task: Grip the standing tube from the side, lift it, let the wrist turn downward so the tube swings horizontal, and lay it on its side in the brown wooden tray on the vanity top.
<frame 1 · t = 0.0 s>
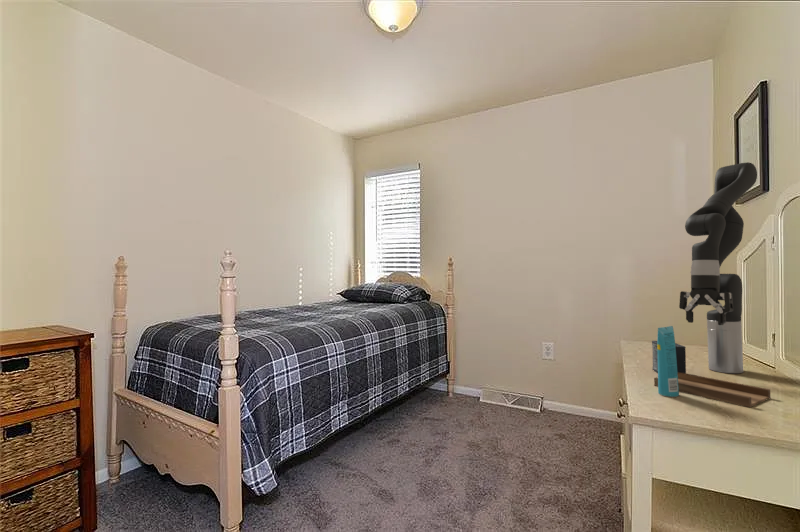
hand: (705, 323, 130), 17 cm above the table, tool pointing down, fingers open, 8 cm apart
tube: (667, 395, 112), on the table
small box: (669, 374, 133), on the table
brown wooden tray: (709, 391, 114), on the table
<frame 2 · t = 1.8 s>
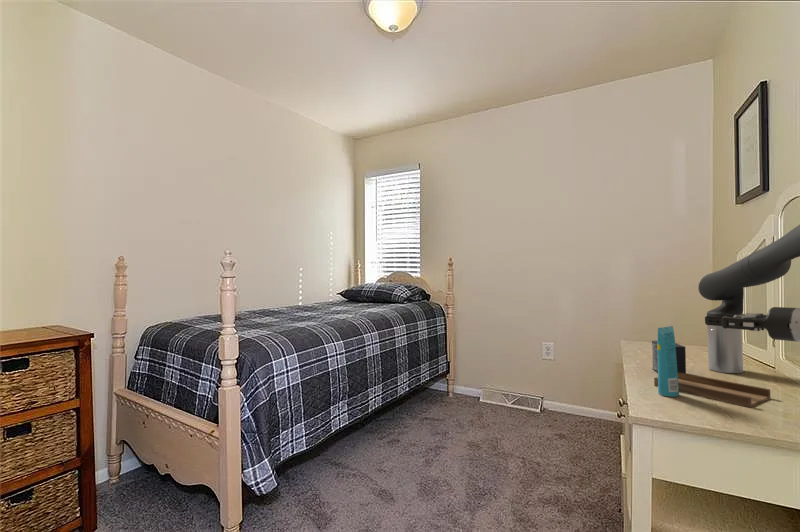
hand: (713, 319, 102), 22 cm above the table, tool horizontal, fingers open, 8 cm apart
nothing on the table moved.
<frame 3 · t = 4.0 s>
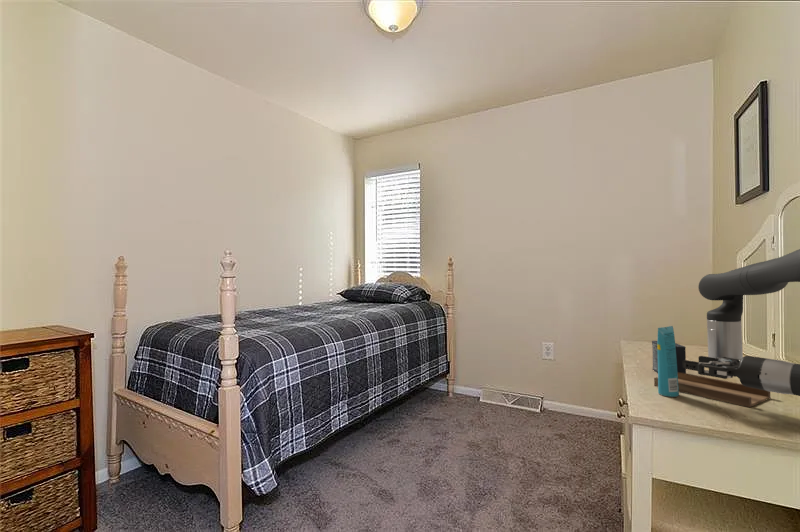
hand: (691, 361, 107), 10 cm above the table, tool horizontal, fingers open, 8 cm apart
nothing on the table moved.
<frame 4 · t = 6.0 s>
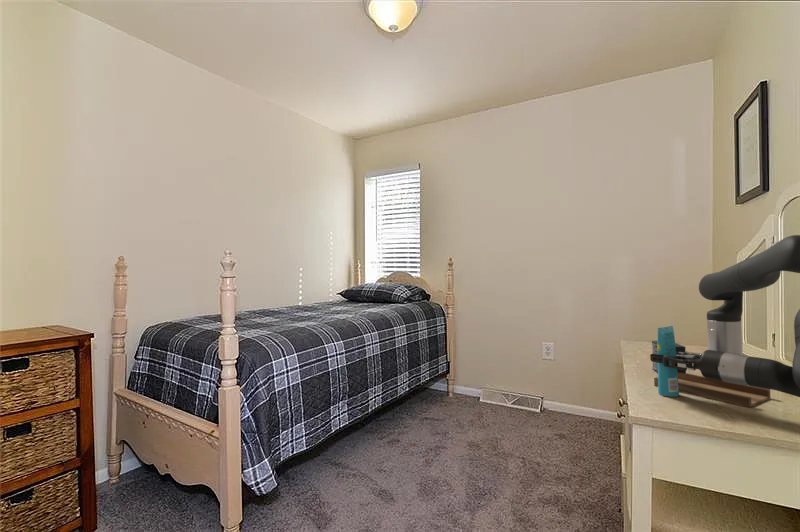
hand: (657, 355, 114), 11 cm above the table, tool horizontal, fingers closed on tube, 6 cm apart
tube: (667, 395, 112), on the table, touching gripper
everything else where it was.
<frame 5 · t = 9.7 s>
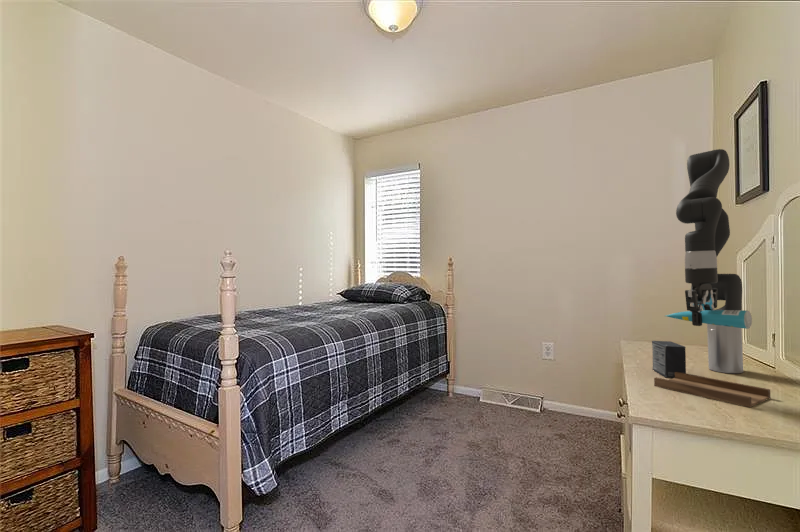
hand: (702, 324, 115), 19 cm above the table, tool pointing down, fingers closed on tube, 6 cm apart
tube: (749, 320, 106), point 21 cm above the table, touching gripper
everything else where it was.
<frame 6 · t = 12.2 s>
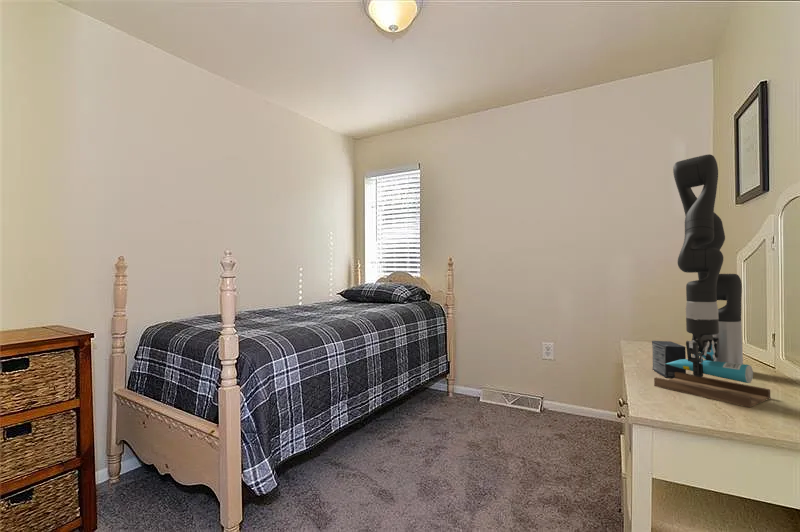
hand: (703, 374, 115), 5 cm above the table, tool pointing down, fingers closed on tube, 6 cm apart
tube: (750, 374, 105), point 7 cm above the table, touching gripper
everything else where it was.
when the fingers open (4 cm above the table, at t = 13.1 s): tube drops 3 cm, resting on brown wooden tray.
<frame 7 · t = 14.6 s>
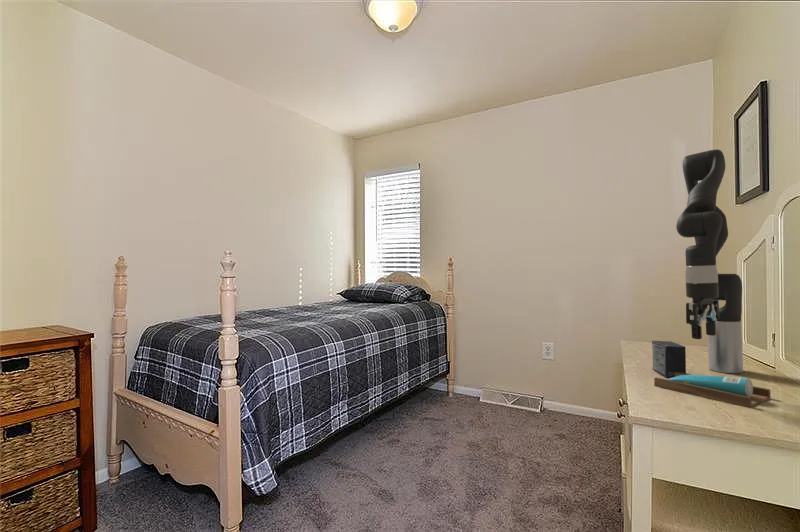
hand: (704, 337, 115), 16 cm above the table, tool pointing down, fingers open, 8 cm apart
tube: (750, 388, 106), point 3 cm above the table, touching brown wooden tray
everything else where it was.
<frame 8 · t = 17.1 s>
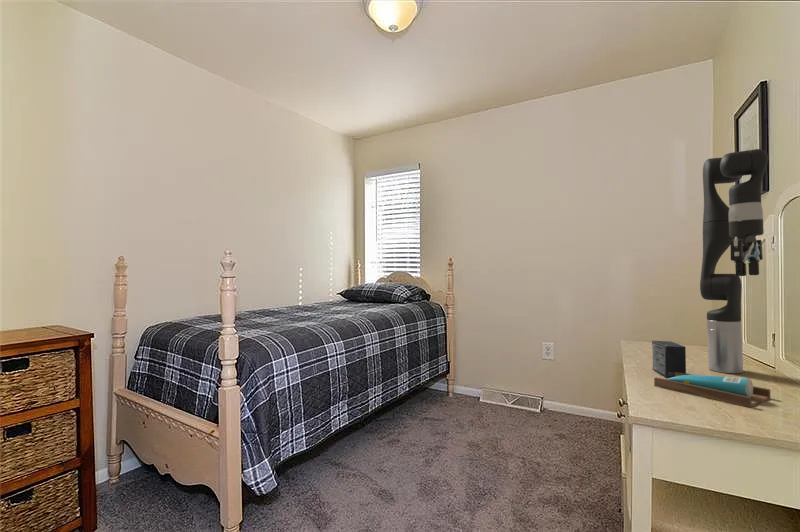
hand: (747, 275, 114), 33 cm above the table, tool pointing down, fingers open, 8 cm apart
nothing on the table moved.
at the end: tube tilted 94°; tube inside the target area on the brown wooden tray (9.5 cm from its centre), point 3.1 cm above the brown wooden tray's base; the gripper is holding nothing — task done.
